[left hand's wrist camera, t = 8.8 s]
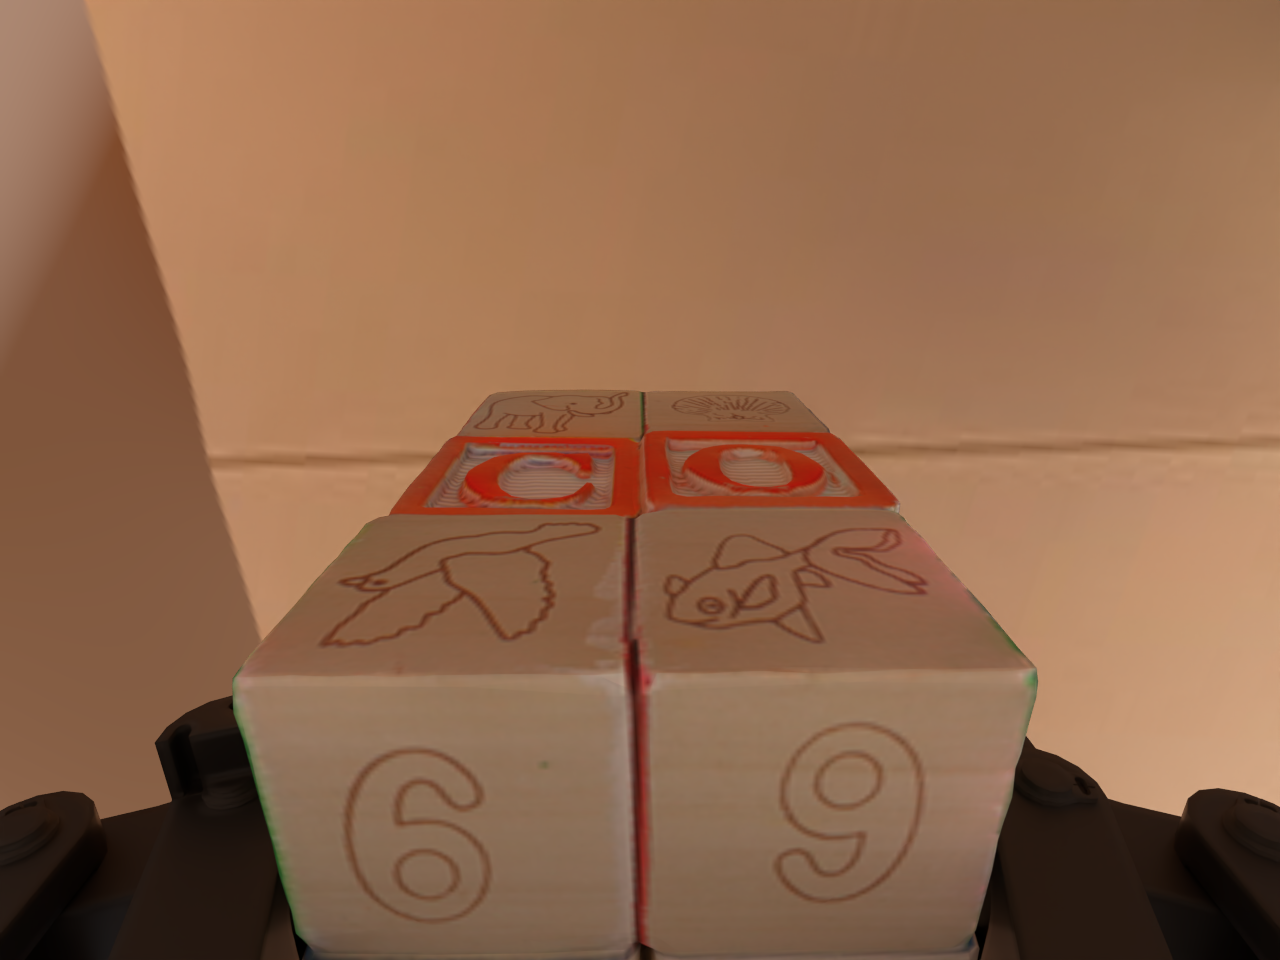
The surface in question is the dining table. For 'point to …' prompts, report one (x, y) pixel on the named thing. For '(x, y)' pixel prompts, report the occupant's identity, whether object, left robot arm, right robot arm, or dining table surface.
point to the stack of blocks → (637, 702)
